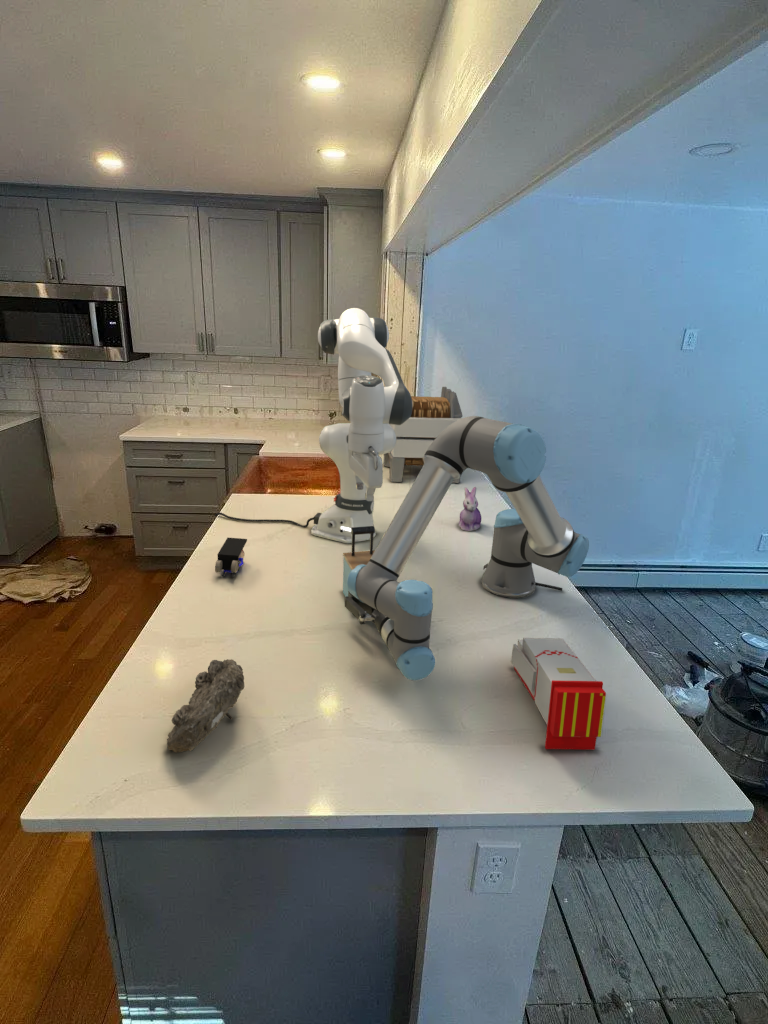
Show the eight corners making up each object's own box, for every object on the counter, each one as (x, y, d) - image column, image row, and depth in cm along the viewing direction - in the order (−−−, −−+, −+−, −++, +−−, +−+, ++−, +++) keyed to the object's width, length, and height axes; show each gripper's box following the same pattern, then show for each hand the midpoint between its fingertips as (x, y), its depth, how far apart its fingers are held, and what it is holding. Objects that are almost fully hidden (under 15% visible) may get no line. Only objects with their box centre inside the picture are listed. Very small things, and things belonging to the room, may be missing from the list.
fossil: (192, 660, 117) (244, 628, 112) (224, 691, 120) (276, 661, 115) (142, 746, 98) (202, 712, 93) (182, 779, 101) (242, 748, 96)
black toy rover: (238, 584, 162) (249, 557, 175) (236, 562, 158) (247, 536, 172) (215, 584, 161) (227, 556, 175) (212, 561, 158) (225, 535, 171)
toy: (559, 621, 128) (615, 689, 99) (553, 675, 131) (607, 757, 102) (506, 620, 128) (547, 687, 99) (501, 674, 131) (540, 756, 101)
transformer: (382, 463, 289) (386, 382, 275) (445, 464, 293) (451, 384, 279) (390, 482, 257) (394, 392, 243) (460, 483, 261) (468, 394, 247)
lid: (343, 555, 154) (343, 525, 151) (376, 553, 157) (377, 522, 154) (356, 578, 142) (357, 545, 139) (392, 575, 145) (393, 542, 141)
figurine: (467, 533, 203) (471, 493, 198) (451, 523, 211) (454, 485, 206) (488, 529, 207) (492, 490, 202) (471, 520, 215) (475, 482, 210)
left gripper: (390, 452, 135) (387, 507, 139) (367, 433, 153) (365, 482, 158) (364, 452, 133) (362, 508, 137) (344, 434, 151) (343, 483, 156)
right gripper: (348, 649, 126) (327, 601, 146) (440, 636, 133) (408, 592, 153) (349, 620, 124) (327, 575, 144) (442, 608, 130) (409, 567, 150)
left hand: (364, 494), depth 148 cm, fingers open, 8 cm apart
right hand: (369, 584), depth 148 cm, fingers closed on chest, 9 cm apart
